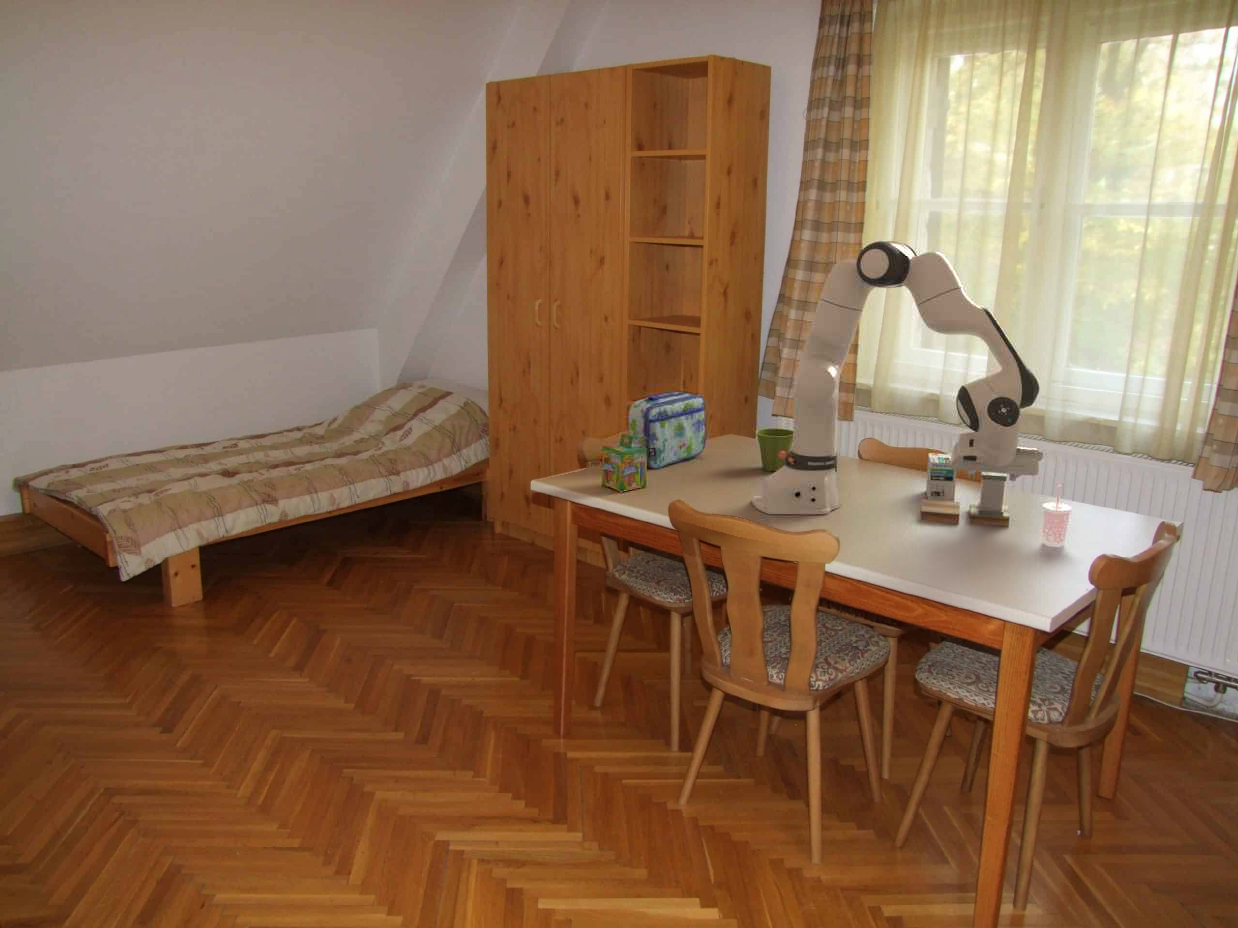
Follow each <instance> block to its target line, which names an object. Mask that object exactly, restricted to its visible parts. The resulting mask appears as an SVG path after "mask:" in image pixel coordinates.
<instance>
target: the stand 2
mask: <svg viewBox="0 0 1238 928" xmlns="http://www.w3.org/2000/svg"><path fill="white" fill-rule="evenodd" d="M978 502H979V501H977V500H974V501H973V500H970V501H969V524H976V525H977V524H978V525H989V526H1001V527H1009V526H1010V511H1009V509H1010V508H1009V504H1008V503H1003V517H997V516H985V515H979V512H978Z"/></svg>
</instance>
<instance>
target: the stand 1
mask: <svg viewBox="0 0 1238 928" xmlns="http://www.w3.org/2000/svg"><path fill="white" fill-rule="evenodd" d="M960 510H961V507H960V501H954V502H953V501H941V500H928V498H927V499H925V498H923V499H922V505H921V514H920V522H930V523H942V524H955V525H959V524H960Z"/></svg>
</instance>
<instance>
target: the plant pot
mask: <svg viewBox="0 0 1238 928" xmlns="http://www.w3.org/2000/svg"><path fill="white" fill-rule="evenodd" d="M755 434H756V436H757V439H758V440H757V441H758V444H759V452H760V459H761V460H760V461H761V467H762V470H764V471H767V472H776V471H777V470H779V469H780V468H781V467H783V466H784V465H785V460H783V459H782V458H780V457H779V456H780V455H779V453H781V451H785V452H786V453H789V452H791V451H792V448H793V429H788V428H776V427H775V428H774V427H772V428H771V427H770V428H761V429H758V430H756V431H755Z"/></svg>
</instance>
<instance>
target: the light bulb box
mask: <svg viewBox="0 0 1238 928" xmlns="http://www.w3.org/2000/svg"><path fill="white" fill-rule="evenodd" d="M951 454H952V453H949V454H947V453H933V452H930V453H928V455H927V456H928V457H927V468H926V469H927V472H926V486H925V492H926V497H927V499H928V500H941V501H953V502H955V496H956V495H955V494H956V482H957V481H956V479H957V470H953V469H952V468H951V467H950V462H951Z"/></svg>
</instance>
